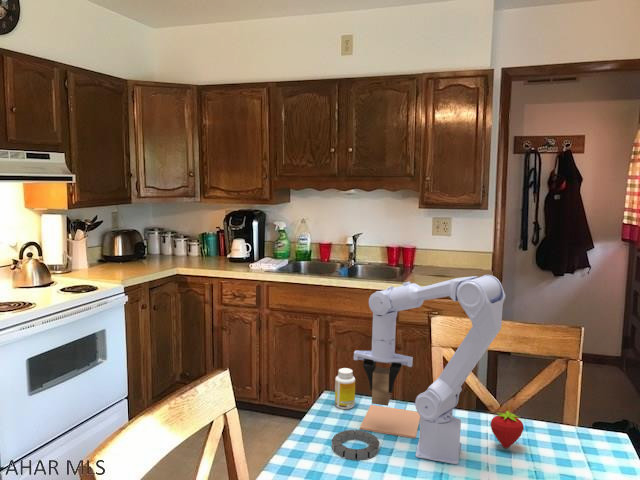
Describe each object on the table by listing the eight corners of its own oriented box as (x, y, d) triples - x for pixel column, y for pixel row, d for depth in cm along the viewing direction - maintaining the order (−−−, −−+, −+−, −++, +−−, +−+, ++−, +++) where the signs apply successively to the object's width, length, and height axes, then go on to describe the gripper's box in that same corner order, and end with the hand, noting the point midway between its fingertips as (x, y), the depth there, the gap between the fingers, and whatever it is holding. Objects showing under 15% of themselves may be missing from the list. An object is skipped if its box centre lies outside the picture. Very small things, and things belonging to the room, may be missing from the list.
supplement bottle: (358, 406, 143) (359, 371, 141) (343, 411, 139) (344, 375, 138) (345, 399, 147) (346, 365, 146) (330, 404, 143) (331, 369, 142)
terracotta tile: (421, 414, 139) (421, 412, 139) (415, 438, 126) (415, 436, 125) (370, 406, 143) (370, 404, 143) (359, 429, 130) (359, 427, 130)
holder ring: (382, 440, 124) (382, 434, 124) (373, 463, 114) (374, 457, 114) (338, 432, 128) (339, 427, 127) (326, 455, 117) (326, 448, 117)
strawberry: (486, 440, 126) (488, 401, 124) (518, 442, 125) (520, 403, 124) (492, 452, 120) (494, 411, 119) (525, 455, 119) (528, 414, 118)
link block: (390, 398, 130) (391, 368, 129) (387, 405, 126) (388, 374, 125) (374, 396, 131) (375, 366, 130) (371, 403, 127) (372, 372, 126)
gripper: (414, 336, 129) (412, 387, 130) (358, 330, 133) (356, 380, 134) (411, 344, 122) (409, 398, 124) (352, 338, 126) (350, 390, 128)
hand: (381, 390), depth 129 cm, fingers closed on link block, 4 cm apart
